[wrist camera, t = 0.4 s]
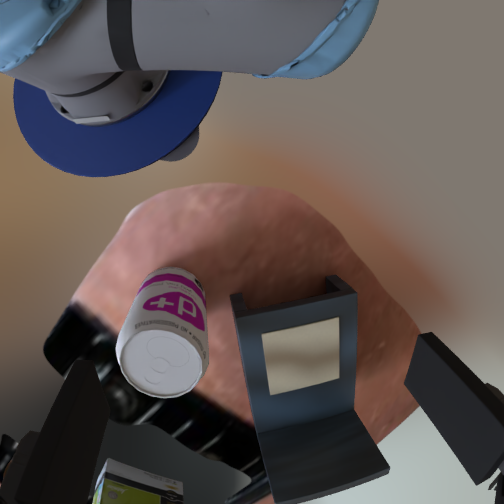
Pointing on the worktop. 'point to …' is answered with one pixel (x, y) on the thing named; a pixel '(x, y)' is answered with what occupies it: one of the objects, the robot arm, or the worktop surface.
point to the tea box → (135, 486)
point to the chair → (307, 393)
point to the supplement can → (165, 335)
